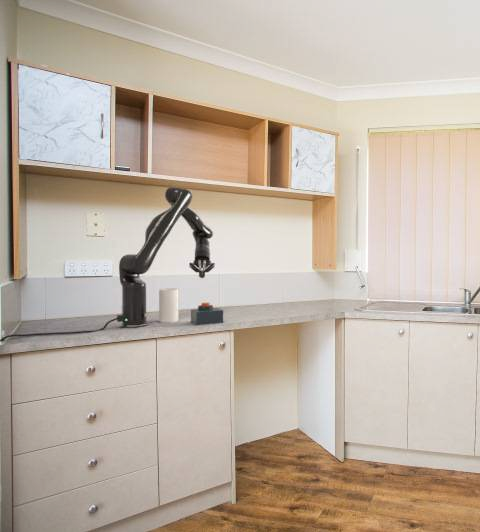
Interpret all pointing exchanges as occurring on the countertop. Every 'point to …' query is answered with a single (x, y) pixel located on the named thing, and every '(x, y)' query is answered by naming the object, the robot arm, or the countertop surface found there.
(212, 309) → the grey button base
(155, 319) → the countertop surface
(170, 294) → the cup
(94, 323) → the countertop surface
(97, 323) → the countertop surface
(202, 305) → the button
